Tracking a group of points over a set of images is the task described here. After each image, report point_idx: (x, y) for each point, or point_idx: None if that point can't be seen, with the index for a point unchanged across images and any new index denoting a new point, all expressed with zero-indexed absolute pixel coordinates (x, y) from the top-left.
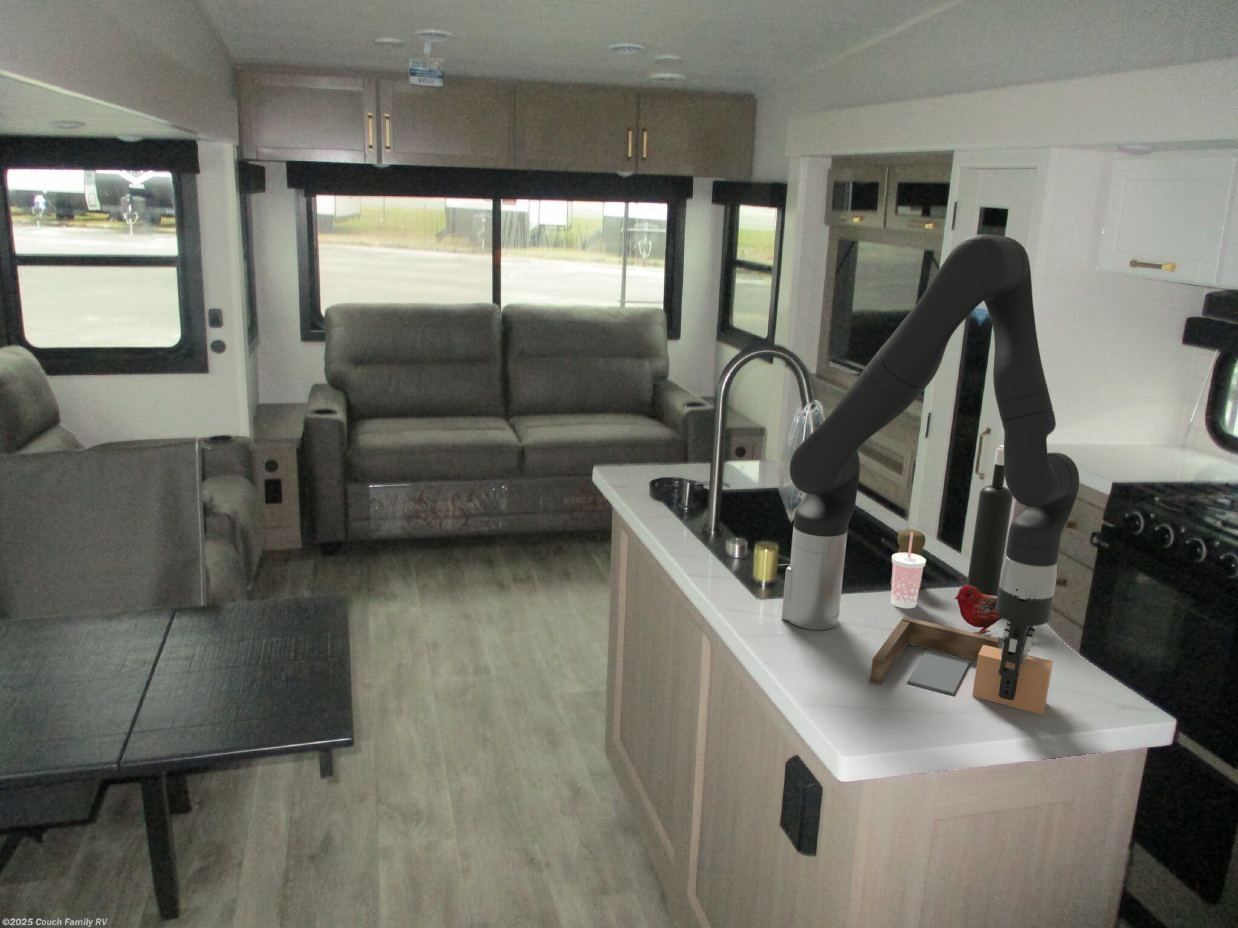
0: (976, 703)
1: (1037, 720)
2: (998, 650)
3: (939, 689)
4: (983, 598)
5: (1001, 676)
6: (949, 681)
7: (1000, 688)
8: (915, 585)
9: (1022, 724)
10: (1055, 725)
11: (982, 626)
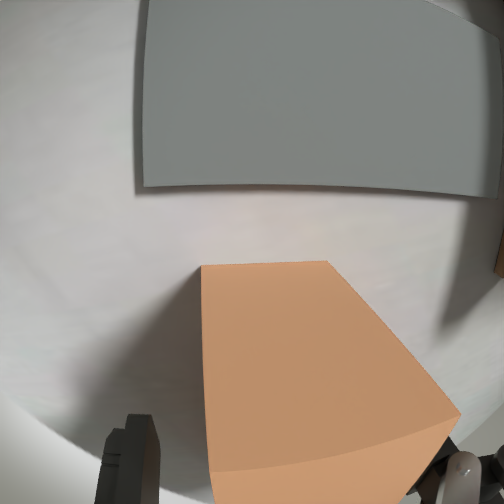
0: (136, 296)
1: (165, 452)
2: (380, 497)
3: (144, 109)
4: None
5: (116, 496)
6: (271, 135)
7: (122, 445)
8: None
9: (107, 429)
10: (172, 475)
11: None
